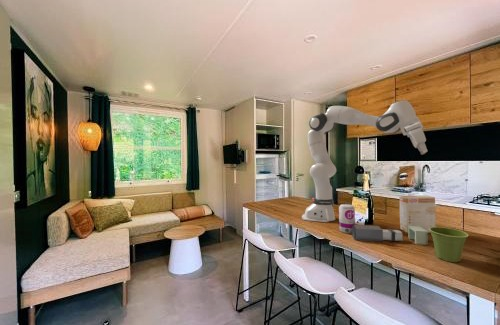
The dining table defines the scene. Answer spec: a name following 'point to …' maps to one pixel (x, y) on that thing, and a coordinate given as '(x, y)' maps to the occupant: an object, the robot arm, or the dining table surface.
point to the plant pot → (448, 243)
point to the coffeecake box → (417, 212)
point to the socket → (418, 234)
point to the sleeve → (367, 233)
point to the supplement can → (346, 218)
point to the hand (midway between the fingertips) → (424, 153)
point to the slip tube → (392, 235)
